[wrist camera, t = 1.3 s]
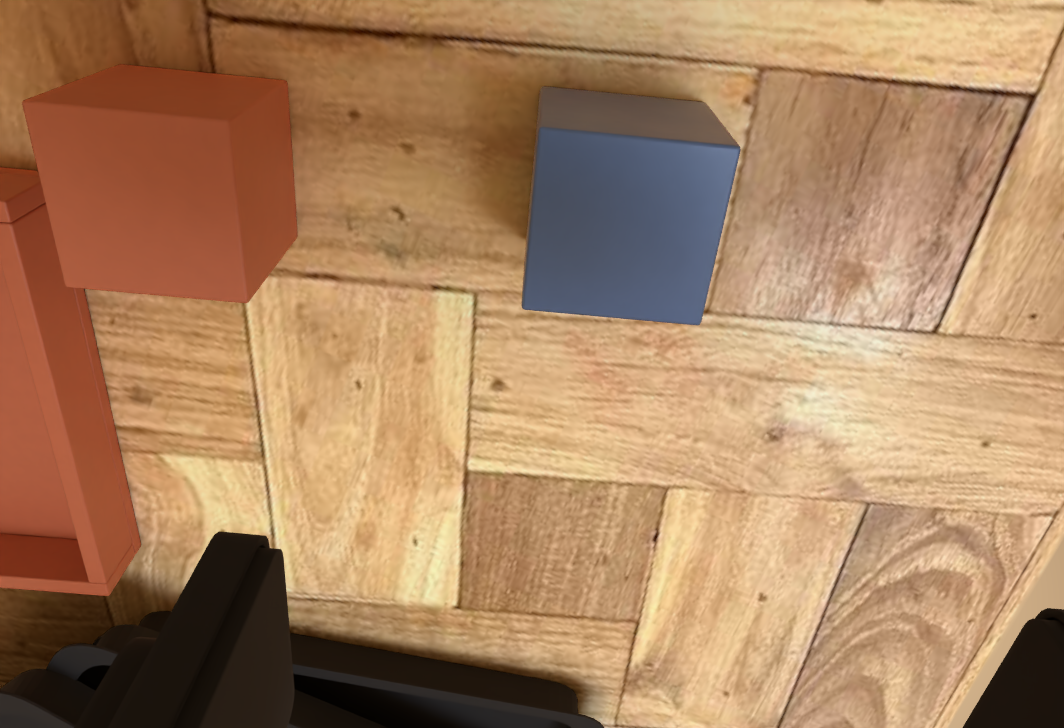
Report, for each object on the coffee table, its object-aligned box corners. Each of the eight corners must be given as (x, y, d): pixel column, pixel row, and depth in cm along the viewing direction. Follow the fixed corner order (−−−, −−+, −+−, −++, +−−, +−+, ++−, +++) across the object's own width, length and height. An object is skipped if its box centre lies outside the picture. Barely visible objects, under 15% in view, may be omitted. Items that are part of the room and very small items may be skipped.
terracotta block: (118, 63, 20) (19, 99, 16) (288, 80, 20) (228, 120, 17) (145, 223, 23) (64, 288, 19) (298, 237, 23) (248, 304, 19)
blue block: (540, 85, 20) (538, 126, 17) (707, 101, 20) (742, 146, 17) (525, 242, 23) (521, 310, 19) (675, 256, 23) (701, 327, 19)
